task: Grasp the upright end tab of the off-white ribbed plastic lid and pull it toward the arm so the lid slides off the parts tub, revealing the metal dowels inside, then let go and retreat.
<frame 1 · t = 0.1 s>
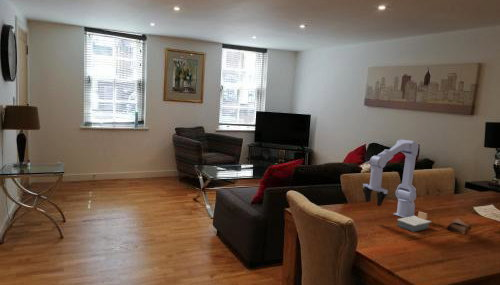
hand: (373, 203, 191), 10 cm above the table, fingers open, 7 cm apart
lid: (414, 219, 187), point 4 cm above the table, slide at 0.0 cm
tub: (412, 227, 187), on the table
sunglasses case: (458, 229, 191), on the table
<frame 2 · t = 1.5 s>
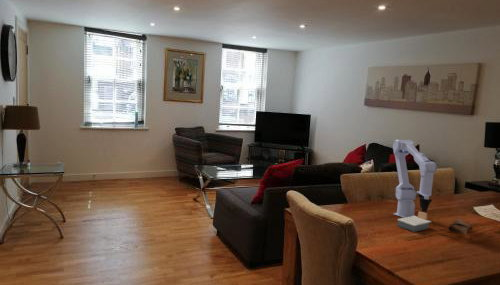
hand: (423, 209, 190), 9 cm above the table, fingers open, 7 cm apart
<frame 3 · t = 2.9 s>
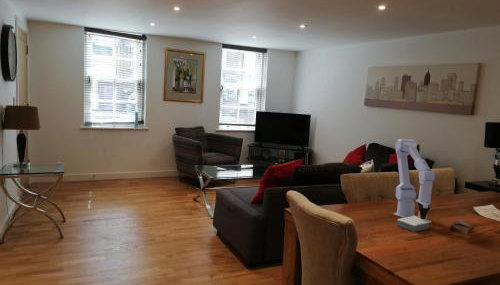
hand: (422, 217, 191), 4 cm above the table, fingers closed on lid, 4 cm apart
lid: (414, 219, 187), point 4 cm above the table, slide at 0.0 cm, touching gripper
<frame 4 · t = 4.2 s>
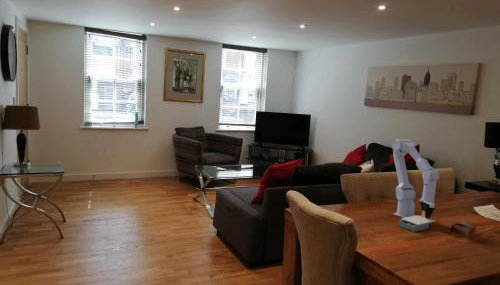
hand: (425, 217, 193), 4 cm above the table, fingers closed on lid, 4 cm apart
lid: (418, 218, 189), point 4 cm above the table, slide at 3.4 cm, touching gripper
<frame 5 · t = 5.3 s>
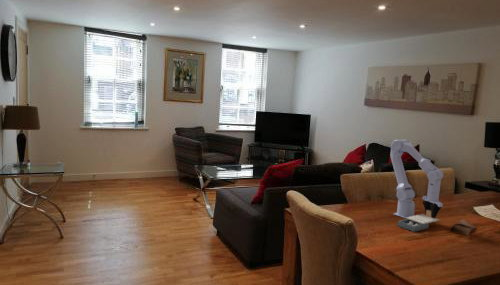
hand: (430, 216, 195), 4 cm above the table, fingers closed on lid, 4 cm apart
lid: (423, 217, 191), point 4 cm above the table, slide at 7.4 cm, touching gripper
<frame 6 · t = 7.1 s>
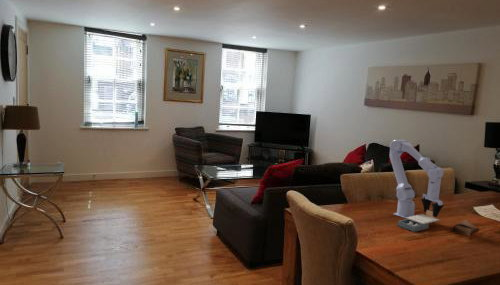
hand: (430, 214, 195), 5 cm above the table, fingers open, 7 cm apart
lid: (423, 217, 191), point 4 cm above the table, slide at 7.4 cm
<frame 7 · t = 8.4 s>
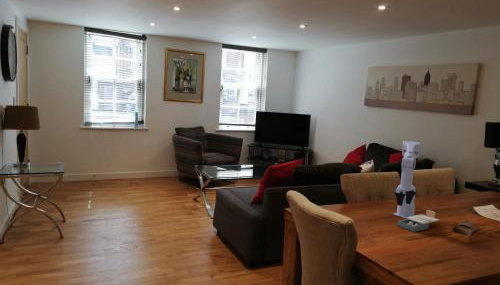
hand: (403, 204, 193), 10 cm above the table, fingers open, 7 cm apart
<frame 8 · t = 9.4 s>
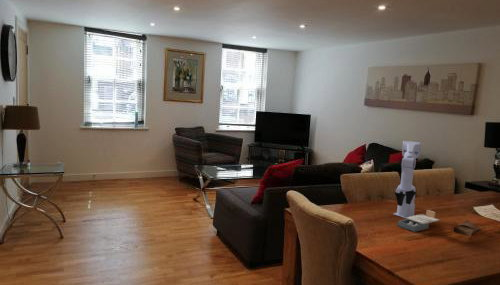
hand: (403, 204, 193), 10 cm above the table, fingers open, 7 cm apart
at the end: lid slide at 7.4 cm; the gripper is holding nothing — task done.
